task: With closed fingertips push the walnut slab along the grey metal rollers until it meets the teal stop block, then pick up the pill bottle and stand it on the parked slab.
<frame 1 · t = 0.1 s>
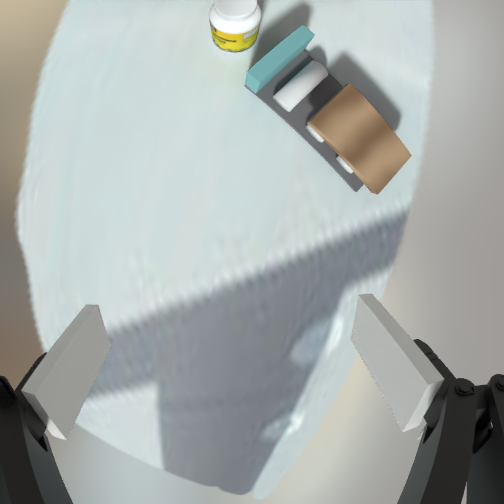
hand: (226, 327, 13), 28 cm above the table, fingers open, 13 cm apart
roller bed: (326, 114, 36), on the table
slab: (362, 138, 33), point 5 cm above the table, slide at 0.0 cm
pill bottle: (234, 38, 31), on the table
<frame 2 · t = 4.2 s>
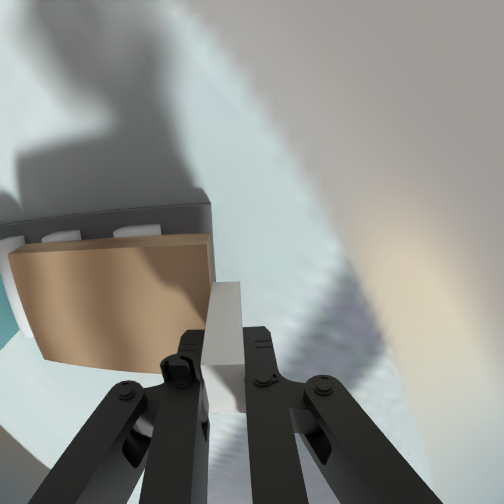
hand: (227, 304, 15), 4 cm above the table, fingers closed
roller bed: (78, 278, 19), on the table
slab: (106, 309, 15), point 5 cm above the table, slide at 0.3 cm, touching gripper
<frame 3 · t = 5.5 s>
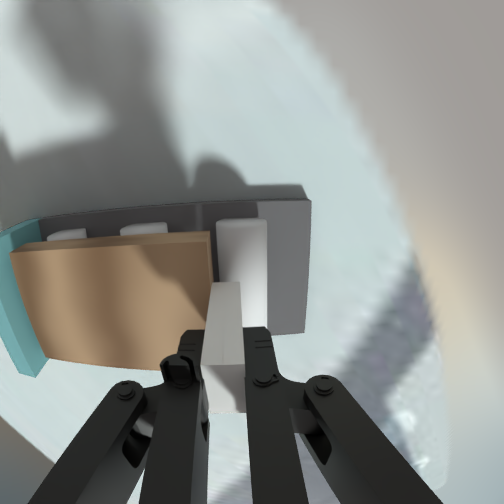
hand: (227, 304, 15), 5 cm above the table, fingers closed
roller bed: (152, 275, 19), on the table
slab: (107, 306, 15), point 5 cm above the table, slide at 6.7 cm, touching gripper
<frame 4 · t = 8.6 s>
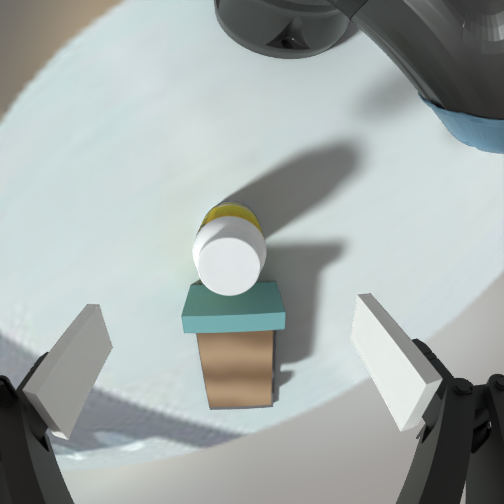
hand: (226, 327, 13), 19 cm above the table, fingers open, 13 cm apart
roller bed: (237, 355, 36), on the table
slab: (237, 366, 31), point 5 cm above the table, slide at 7.1 cm
pill bottle: (230, 228, 31), on the table
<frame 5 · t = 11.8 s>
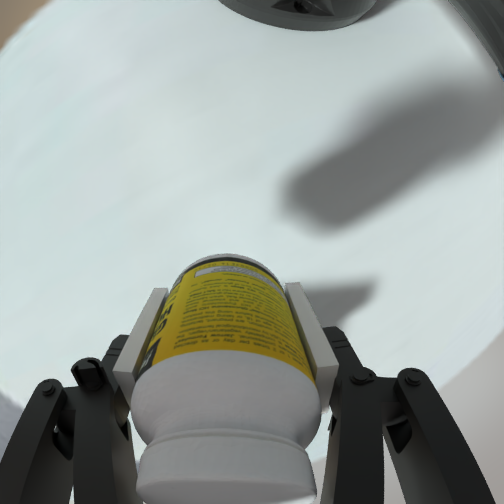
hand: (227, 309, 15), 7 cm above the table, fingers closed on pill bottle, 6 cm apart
pill bottle: (227, 302, 15), point 7 cm above the table, touching gripper
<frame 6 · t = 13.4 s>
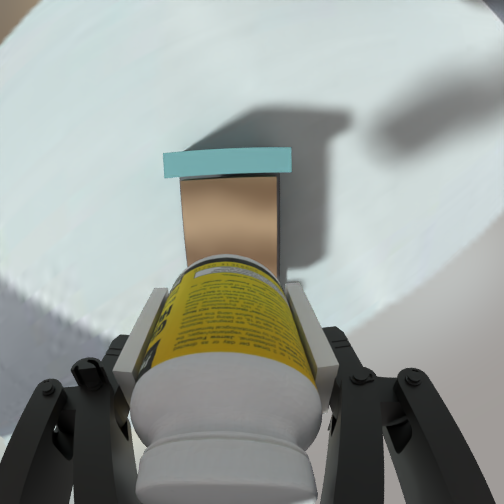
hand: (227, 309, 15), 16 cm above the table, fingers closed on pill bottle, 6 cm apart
roller bed: (232, 253, 31), on the table
slab: (231, 249, 26), point 5 cm above the table, slide at 7.1 cm
pill bottle: (227, 303, 15), point 16 cm above the table, touching gripper
when the fingers open (7 cm above the table, at t = 15.3 s): pill bottle drops 1 cm, resting on slab.
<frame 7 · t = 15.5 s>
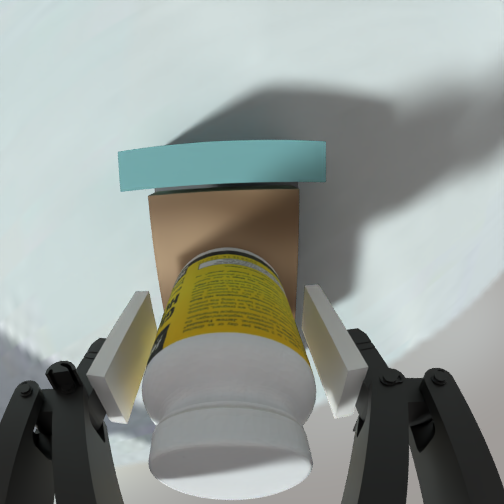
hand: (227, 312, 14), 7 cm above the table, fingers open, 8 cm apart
roller bed: (231, 290, 22), on the table
slab: (228, 295, 17), point 5 cm above the table, slide at 7.0 cm, touching pill bottle
pill bottle: (227, 293, 16), point 5 cm above the table, touching slab
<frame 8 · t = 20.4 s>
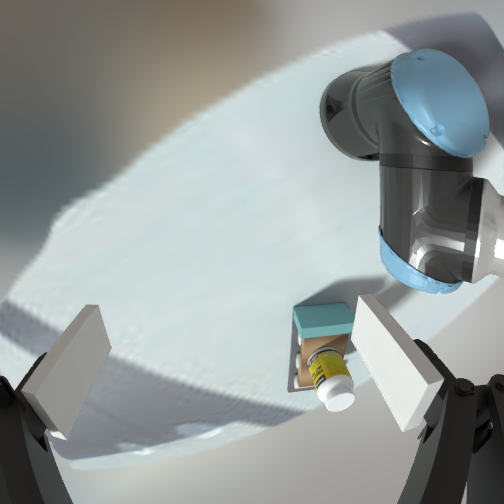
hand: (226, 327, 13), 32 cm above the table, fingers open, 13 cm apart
roller bed: (314, 351, 53), on the table
slab: (321, 357, 48), point 5 cm above the table, slide at 7.0 cm, touching pill bottle
pill bottle: (323, 358, 47), point 5 cm above the table, touching slab
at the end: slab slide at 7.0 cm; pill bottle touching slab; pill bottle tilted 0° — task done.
